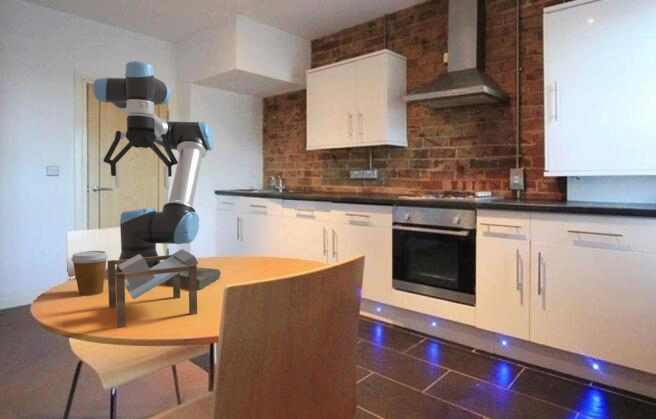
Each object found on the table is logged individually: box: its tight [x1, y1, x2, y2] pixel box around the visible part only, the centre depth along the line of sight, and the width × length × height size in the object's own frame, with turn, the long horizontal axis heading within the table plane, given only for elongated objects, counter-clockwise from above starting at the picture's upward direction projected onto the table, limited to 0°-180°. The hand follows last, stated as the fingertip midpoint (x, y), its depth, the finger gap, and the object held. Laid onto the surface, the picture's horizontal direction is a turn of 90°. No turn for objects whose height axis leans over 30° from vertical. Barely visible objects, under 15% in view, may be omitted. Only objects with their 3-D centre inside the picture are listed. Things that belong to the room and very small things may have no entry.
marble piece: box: [164, 267, 222, 291], centre depth 134 cm, size 17×15×4 cm
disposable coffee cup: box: [70, 250, 109, 296], centre depth 121 cm, size 10×10×12 cm
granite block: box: [118, 254, 155, 290], centre depth 103 cm, size 6×6×6 cm
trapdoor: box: [125, 248, 199, 300], centre depth 106 cm, size 15×17×2 cm
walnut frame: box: [107, 254, 198, 329], centre depth 105 cm, size 18×18×13 cm
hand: (142, 187), depth 122 cm, fingers open, 13 cm apart
